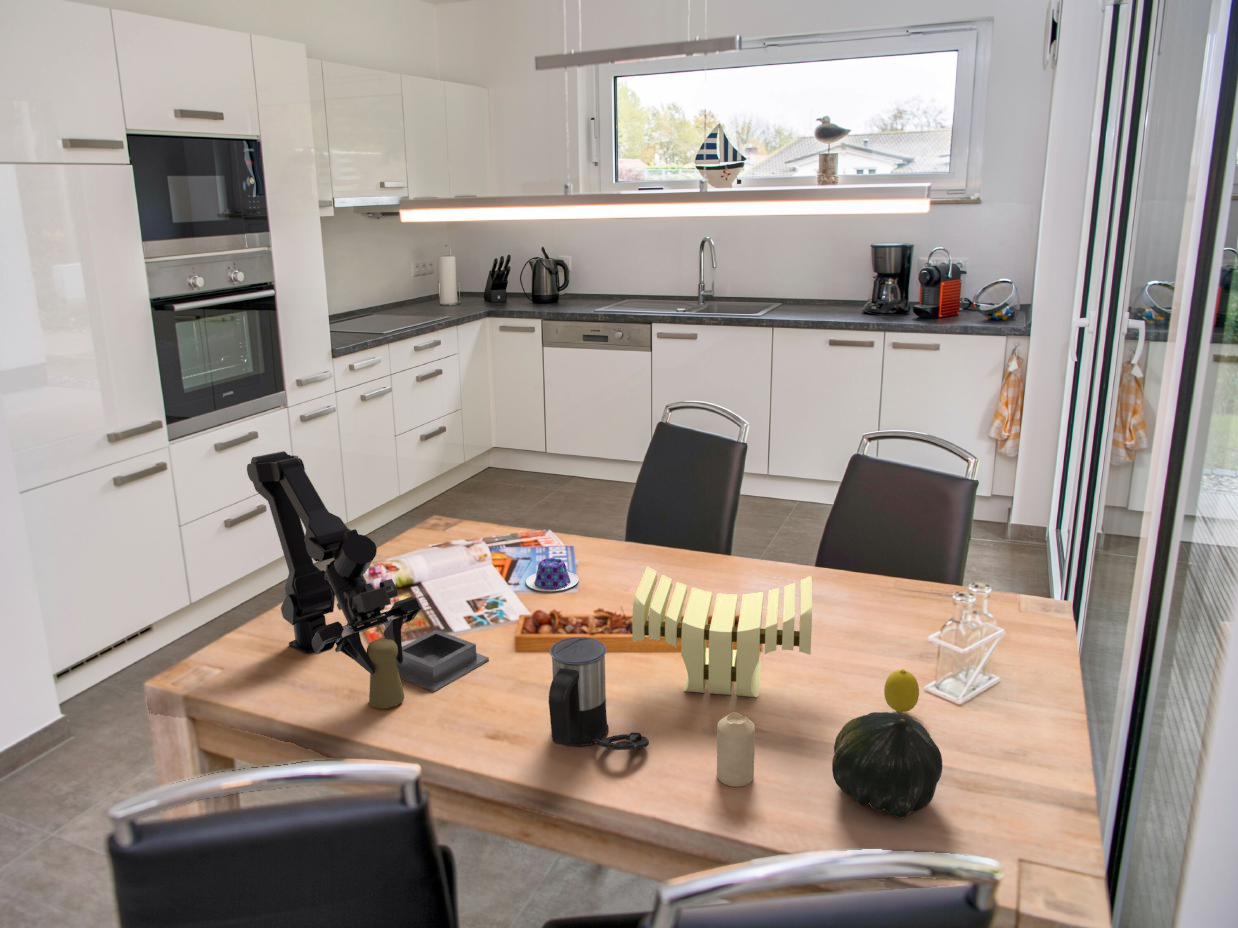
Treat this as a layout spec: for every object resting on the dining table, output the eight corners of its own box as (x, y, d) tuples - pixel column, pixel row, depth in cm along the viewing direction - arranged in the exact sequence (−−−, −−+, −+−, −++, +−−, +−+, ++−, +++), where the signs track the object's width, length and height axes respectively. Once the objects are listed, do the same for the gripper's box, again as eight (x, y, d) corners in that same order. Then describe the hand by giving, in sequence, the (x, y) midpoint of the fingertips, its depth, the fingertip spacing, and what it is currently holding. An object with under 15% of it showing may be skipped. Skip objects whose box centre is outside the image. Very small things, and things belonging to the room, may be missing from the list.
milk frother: (555, 715, 154) (552, 635, 149) (649, 715, 153) (648, 635, 149) (546, 765, 140) (542, 679, 136) (648, 766, 139) (647, 679, 135)
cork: (395, 709, 155) (390, 651, 152) (362, 706, 156) (356, 648, 153) (410, 691, 161) (405, 635, 158) (378, 688, 162) (373, 632, 159)
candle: (713, 766, 139) (714, 708, 136) (749, 763, 139) (750, 706, 136) (720, 788, 134) (721, 728, 131) (757, 786, 134) (759, 726, 131)
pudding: (555, 598, 199) (554, 576, 198) (515, 586, 206) (513, 564, 205) (589, 580, 209) (588, 559, 207) (549, 569, 216) (548, 548, 214)
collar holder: (382, 669, 170) (380, 652, 169) (438, 640, 180) (436, 624, 179) (433, 691, 162) (432, 673, 161) (488, 660, 172) (487, 643, 171)
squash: (837, 719, 141) (839, 687, 128) (939, 737, 137) (951, 705, 124) (826, 813, 134) (828, 789, 121) (933, 835, 130) (946, 812, 117)
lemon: (899, 725, 149) (902, 681, 146) (875, 709, 153) (878, 666, 151) (924, 716, 151) (928, 672, 149) (900, 700, 156) (903, 658, 154)
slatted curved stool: (633, 694, 159) (632, 601, 154) (648, 652, 174) (647, 565, 169) (808, 709, 154) (812, 613, 149) (807, 664, 169) (811, 575, 164)
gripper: (311, 584, 149) (349, 669, 144) (412, 554, 161) (450, 631, 156) (296, 612, 156) (331, 694, 152) (393, 581, 168) (429, 656, 164)
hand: (387, 667), depth 156 cm, fingers closed on cork, 5 cm apart
